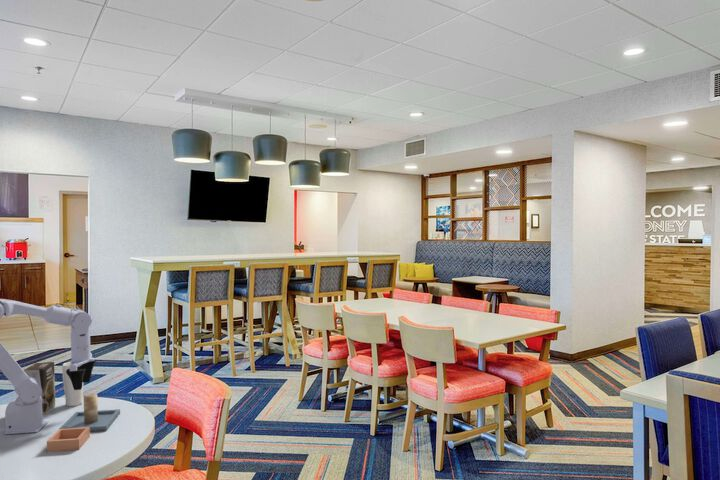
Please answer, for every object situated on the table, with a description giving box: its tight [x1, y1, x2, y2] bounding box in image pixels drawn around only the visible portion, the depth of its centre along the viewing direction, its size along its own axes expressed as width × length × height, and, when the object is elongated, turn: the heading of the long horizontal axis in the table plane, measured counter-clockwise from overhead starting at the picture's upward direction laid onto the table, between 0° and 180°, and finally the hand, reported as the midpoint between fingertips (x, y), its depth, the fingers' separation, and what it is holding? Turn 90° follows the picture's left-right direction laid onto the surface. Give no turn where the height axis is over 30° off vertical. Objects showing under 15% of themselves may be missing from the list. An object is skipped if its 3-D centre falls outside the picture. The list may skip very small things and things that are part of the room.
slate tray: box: [58, 408, 121, 433], centre depth 165 cm, size 14×14×2 cm
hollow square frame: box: [46, 427, 91, 453], centre depth 150 cm, size 9×9×3 cm
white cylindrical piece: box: [61, 360, 84, 407], centre depth 181 cm, size 7×7×15 cm
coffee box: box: [23, 361, 56, 416], centre depth 175 cm, size 9×6×16 cm
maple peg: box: [83, 393, 99, 424], centre depth 165 cm, size 4×4×8 cm
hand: (82, 385), depth 171 cm, fingers open, 7 cm apart
